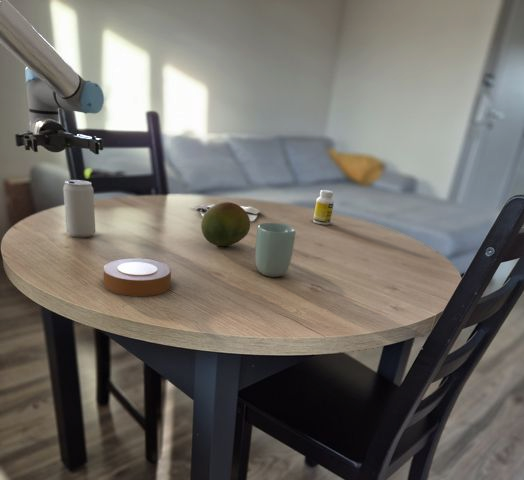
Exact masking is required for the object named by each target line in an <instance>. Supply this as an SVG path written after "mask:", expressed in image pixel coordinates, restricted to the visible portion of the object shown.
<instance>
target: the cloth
mask: <svg viewBox="0 0 524 480" xmlns="http://www.w3.org/2000/svg"><path fill="white" fill-rule="evenodd" d="M216 204H217V203H216ZM216 204H201V205H194V206H193V209H194V210H195V211H200V215H201V216H202V217H203V216H204V214H205V213H206V211H207V210H208V209H210V208H211V207H213V206H214V205H216ZM239 206H240V207H242V208H243V209H244V210H245V212H246V213H247V214H248V216H249V219H250V222H254V221H255V220H256V219H257V218H258V214H260V213H261V210H260V209H258V208H255V207H253V206H243V205H239Z"/></svg>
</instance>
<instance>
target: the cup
mask: <svg viewBox="0 0 524 480" xmlns="http://www.w3.org/2000/svg"><path fill="white" fill-rule="evenodd" d="M295 240H296V229H295V228H294V227H293V226H290V225H288V224H285V223H277V222H263V223H259V224H258V225H257V229H256V239H255V251H254V258H255V259H254V261H255V266H256V269H257V271H258V272H259V274H262V275H263V276H265V277H270V278H278V277H282V276H284V275H286V273H287V272H288V270H289V269H290V266H291V263H292V260H293V254H294V247H295Z"/></svg>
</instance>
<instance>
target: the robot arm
mask: <svg viewBox="0 0 524 480" xmlns="http://www.w3.org/2000/svg"><path fill="white" fill-rule="evenodd" d="M0 44H1V45H2V46H3V47H4V49H6V50H7V51H8V52H9V53H11V54H12V55H13V57H15V58H16V59H17V60H18V61H19V62H20V63H22V64H23V65H24V66H25V71H24V72H25V74H24V75H25V88H26V95H27V102H28V103H27V104H28V110H29V111H28V113H29V114H28V115H29V124H28V129H29V130H25V131H24V132H20V133H15V134H14V142H15V147H18V148H19V147H22V146H24V151H31V150H32V151H33V152H34V153H38V152H39V150H38V147H43V148H44V149H45V150H47V151H48V152H51V153H62V152H63V151H64V150H66V149H67V148H68V149H75V148H79V149H80V148H81V149H87V150H89V151H90V152H92V153H93V154H95V155H100V151H103V150H104V139H102V138H98V137H97V136H96V135H92V136H89V135H84V134H81V133H78V134H76V135H75V133H73V132H72V133H71V132H68V130H67V129H66V127H65V126H63V125H62V124H61V123H60V111H59V110H64V111H70V112H77V113H83V114H85V115H86V114H93V115H94V114H95V115H96V114H98V113H100V112H102V109H103V107H104V104H105V94H104V91H103V88H102V87H101V86H100V85H99V83H97V82H95V81H91V80H85V79H84V78H83V77H82V76H81V75H80V74H79V73H78V72H77V71H76V70H75V69H74V68H73V67H72V66H71V65H70V64H69V63H68V62H67V61H66V60H65V59H64V57H62V55H60V54H59V52H57V50H56V49H55V48H54V47H53V46H52V45H51V44H50V43H49V42H48V41H47V40H46V39H45V38H44V36H43V35H41V33H39V31H37V30H36V28H35V27H34V26H33V25H32V24H31V23H30V22H29V21H28V20H27V19H26V18H25V17H24V16H23V15H22V14H21V12H20V11H19V10H18V9H16V7H15V6H13V4H12V3H11V2H10V1H9V0H0Z"/></svg>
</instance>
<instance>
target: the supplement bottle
mask: <svg viewBox="0 0 524 480" xmlns="http://www.w3.org/2000/svg"><path fill="white" fill-rule="evenodd" d="M319 195H320V196H318V197H317V198H316V202H315V207H314V214H313V219H312V220H313V223H314V224H318V225H322V226H324V225H325V226H327V225H330V224H331V222H332V221H331V220H332V215H333V209H334V203H335V202H334V199H333V196H334V191H332V190H328V189H321V190H320V191H319Z"/></svg>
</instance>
